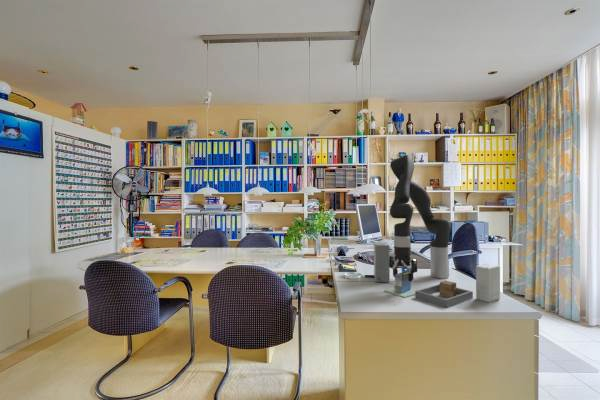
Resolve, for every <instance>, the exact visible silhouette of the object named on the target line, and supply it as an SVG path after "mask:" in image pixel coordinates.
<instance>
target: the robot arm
mask: <svg viewBox="0 0 600 400" xmlns="http://www.w3.org/2000/svg"><path fill="white" fill-rule="evenodd" d="M389 166H390V169H391V171H392V173H393V175H394V176H395V178H396V179H397V180H398V182H397V183H396V185H395V189H394V198H393V201H392V203H391V205H390V208H389V214H390V217H392V218H393V219H405V220H404V221H403V222H398V223H396V224H394V228H393V230H394V231H393V232H394V233H393V235H394V236H393V249H394V250H393V253H394V254H391V255H389V269H390V268H391V269H392V276H393V278H395V275H396V274H399V273H398V272H399V271H398V268H399V267H405V268H406V269H405V270H408V272H409V273H408V280H409V281H411V282H413V280H414V273H418V261H417V259H416V258H415V259H414V258H413V259H412V258H411V255H412V251H411V249H412V248H411V221H412V218H413V214H414V207H413V206H415V208H416V210H417V212H418V213H419V215H420V217H421V219H422V221H423V223H424V225H425V228H426V230H427V231H428V232H429V233H430V234H433V235H436V236H435V239H433V240H430V244H429V245H430V246H429V248H430V249H429V250H430V252H429V253H430V254H429V255H430V259H429V260H430V263H429V264H430V277H431V278H435V279H448V278H449V277H450V260H449V243H450V233H451V227H450V222H449V221H448V220H447V219H446V218H440V217H439V218H437V217H436V216H435V215H434V214H433V212H432V209H431V205H432V203H431V201H432V200H431V197H430V195H429V193H428V191H427V190H426V188H424V187H423V186H422V185H421V184H419V183H417V182H416V181H415V182H414V181H413V179H412V178H413V174H414V170H415V163H414V159H413V158H412V157H411V156H410V155H408V154H405V155H403V156H400V157H397V158H395V159H393V160H391V161H390V165H389ZM410 200H411V202H412V204H413V205H412V204H410V203H409V202H410Z"/></svg>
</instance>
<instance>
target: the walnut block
mask: <svg viewBox="0 0 600 400" xmlns="http://www.w3.org/2000/svg"><path fill="white" fill-rule="evenodd" d="M439 284H440V291H439V296H443V297H445V298H446V297H447V298H451V297H454V296H457V295H456V287H457V282H454V281H450V280H441V281H439Z"/></svg>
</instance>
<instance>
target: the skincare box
mask: <svg viewBox="0 0 600 400" xmlns="http://www.w3.org/2000/svg"><path fill="white" fill-rule="evenodd" d="M500 268H501V267H500V266H499V265H495V264H490V263H484V264H480V265H479V264H478V265H475V290H476V291H475V297H476V299H477V300H481V301H483V302H486V303H492V302H495V301H497V300H500V299H501V276H500V275H501V274H500V272H501V269H500Z"/></svg>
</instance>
